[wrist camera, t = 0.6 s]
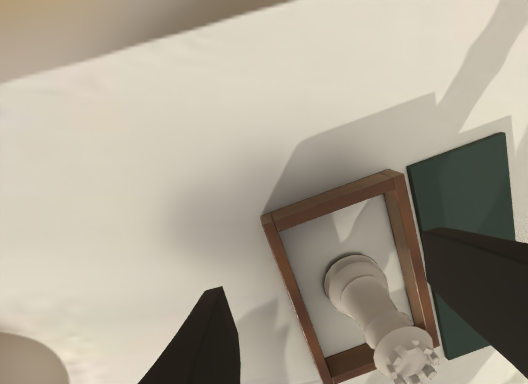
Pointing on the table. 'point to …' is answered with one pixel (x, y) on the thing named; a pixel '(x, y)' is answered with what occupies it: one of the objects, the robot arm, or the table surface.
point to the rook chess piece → (380, 320)
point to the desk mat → (464, 213)
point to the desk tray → (408, 251)
